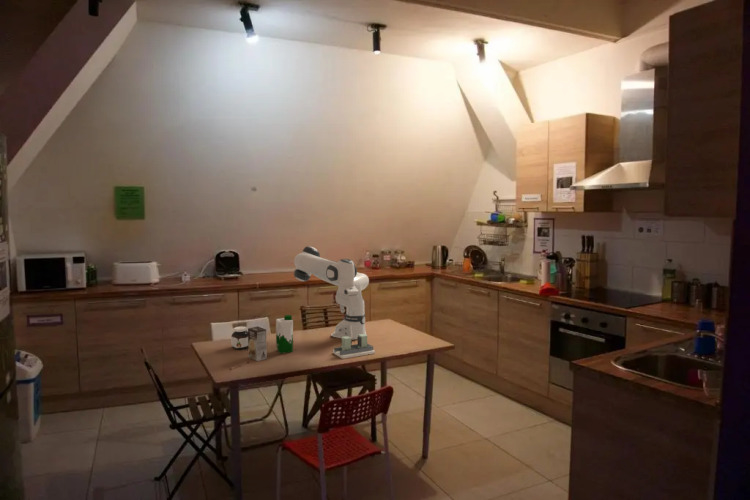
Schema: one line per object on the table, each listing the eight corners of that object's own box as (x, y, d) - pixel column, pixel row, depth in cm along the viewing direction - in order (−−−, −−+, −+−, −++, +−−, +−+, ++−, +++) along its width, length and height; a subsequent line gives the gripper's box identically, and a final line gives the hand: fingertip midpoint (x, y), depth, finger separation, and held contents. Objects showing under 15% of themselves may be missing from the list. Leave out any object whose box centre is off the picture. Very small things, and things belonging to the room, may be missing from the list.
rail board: (342, 358, 271) (342, 341, 270) (332, 352, 281) (332, 336, 280) (374, 353, 281) (374, 336, 280) (364, 347, 291) (364, 331, 290)
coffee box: (247, 357, 272) (247, 328, 271) (258, 354, 277) (257, 326, 275) (256, 361, 266) (256, 331, 264) (267, 358, 270) (266, 329, 269)
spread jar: (229, 348, 288) (228, 328, 287) (241, 343, 298) (240, 324, 297) (247, 351, 284) (247, 330, 283) (258, 345, 294) (258, 326, 293)
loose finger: (345, 353, 276) (345, 338, 275) (341, 351, 280) (341, 336, 279) (351, 352, 278) (351, 337, 277) (348, 350, 282) (348, 335, 281)
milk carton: (294, 352, 282) (294, 317, 280) (278, 354, 278) (277, 318, 276) (290, 348, 290) (290, 313, 288) (275, 349, 286) (274, 315, 284)
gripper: (333, 286, 282) (333, 311, 284) (349, 292, 265) (349, 318, 266) (343, 285, 285) (343, 309, 287) (360, 291, 268) (360, 317, 269)
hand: (346, 314), depth 276 cm, fingers open, 8 cm apart
